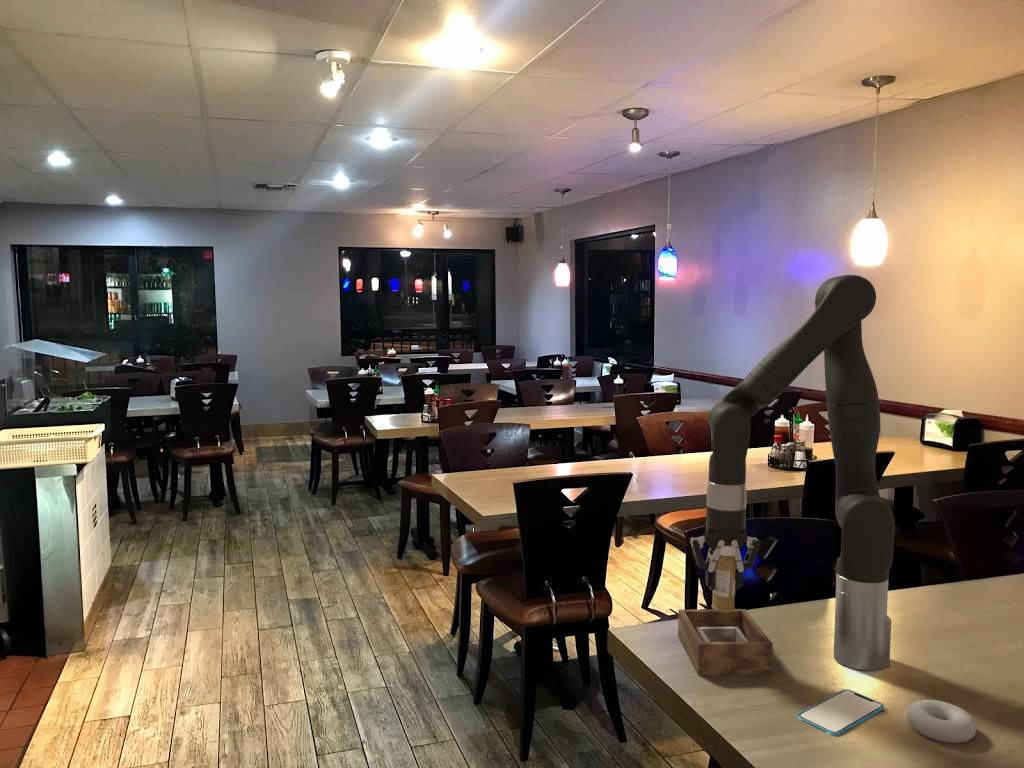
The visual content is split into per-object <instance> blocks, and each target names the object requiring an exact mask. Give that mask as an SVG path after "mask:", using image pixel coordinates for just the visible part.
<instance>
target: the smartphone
mask: <svg viewBox="0 0 1024 768" xmlns="http://www.w3.org/2000/svg"><path fill="white" fill-rule="evenodd" d="M884 710H885V705H884V704H883V703H882V702H880V701H877V700H875V699H872V698H870V697H868V696H865V695H863V694H861V693H858V692H856V691H853V690H851V689H846V688H845V689H842V690H840V691H838V692H836V693H834V694H832V695H831V696H828V697H827V698H825V699H823V700H821V701H819V702H818V703H815V704H814V705H811V706H810V707H808V708H806V709H803V710H802V711H800V712H798V713H797V719H799V720H800V721H801V722H804V723H806V724H808V725H810V726H812V727H815V728H817V729H818V730H820V731H822V732H824V733H827V734H828V735H830V736H835V737H837V736H840V735H842V734H844V733H846V732H848V731H849V730H851V729H853V728H855V727H857V726H859V725H861V724H862V723H864V722H866V721H868V720H869V719H870V720H871V719H872V718H873V717H875V716H877V715H880V714H881V713H883V712H884Z"/></svg>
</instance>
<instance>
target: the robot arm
mask: <svg viewBox="0 0 1024 768" xmlns="http://www.w3.org/2000/svg"><path fill="white" fill-rule="evenodd" d="M876 303H877V292H876V288H875V287H874V284H873V283H872V282H871V281H870V280H868V279H867V278H865V277H864V276H861V275H856V274H844V275H839V276H834V277H831V278H828V279H826V280H825V281H824V282H822V284H821V285H820V286H819V287H818V289H817V291H816V293H815V297H814V305H815V306H814V308H815V310H814V312H813V313H812V314H811V315H810V317H808V319H807V320H806V321H805V322H804V323H803V324H802V325H801V326H800V327H799V328H798V329H797V330H796V331H794V332H793V333H792V334H791V335H790V336H789V337H788V338H786V339H784V341H783V342H781V343H780V344H778V345H777V346H776V347H775V348H773V349H772V350H770V352H769V353H768V354H766V355H765V356H764V358H762V359H761V360H760V361H759V362H758V363H757V365H756V366H754V367H753V369H752V370H751V371H750V372H749V373H748V374H747V375H746V376H745V377H744V378H743V380H742V381H741V382H740V383H739V384H738V385H736V386H735V387H733V388H732V389H730V391H729V392H728V393H726V394H725V395H724V396H723V397H721V398H720V399H719V400H718V401H717V402H716V403H715V404H714V405H713V407H712V408H711V410H710V411H709V414H708V417H707V420H708V421H707V422H708V426H709V428H710V429H711V431H712V432H713V433H712V435H713V437H712V453H711V454H710V456H709V462H708V483H707V484H708V485H707V489H706V512H705V513H706V514H705V530H704V532H703V534H702V536H701V535H700V536H697V537H694V536H691V537H690V538H689V542H690V546H691V548H692V549H691V551H692V554H693V556H694V559H695V564H696V565H697V566H698V568H699V569H701V570H705V582H704V583H705V584H706V586H707V588H709V590H710V591H712V590H715V572H714V569H715V566H716V563H717V562H718V560H719V557H720V549H722V548H723V547H724V545H731V546H732V547H733V548H735V555H734V556H735V562H736V568H735V569H736V570H735V574H736V577H735V580H736V581H735V591H740V588H742V587H743V585H744V582H743V581H744V571H746V570H751V569H753V567H754V565H755V562H756V559H757V557H758V553H759V551H760V548H761V544H762V542H761V540H760V539H758V538H757V537H756V536H753V537H752V536H748V535H747V532H746V526H747V525H746V520H747V504H748V500H747V487H746V481H747V479H746V476H747V461H746V460H747V455H748V449H749V443H750V439H751V420H750V419H751V418H753V416H755V414H756V413H758V412H759V411H760V410H761V409H763V408H766V407H768V406H770V405H771V404H772V403H774V402H775V401H776V400H777V399H778V398H779V397H780V396H781V394H783V393H784V391H785V390H786V389H787V388H788V387H789V386H790V385H791V384H792V383H793V382H794V381H795V380H796V379H797V378H798V377H799V376H800V375H801V373H803V371H805V369H807V368H808V366H810V364H811V363H812V362H813V361H814V360H815V359H817V358H818V357H819V356H820V355H821V354H822V353H823V356H824V357H823V358H824V361H823V362H824V363H823V365H824V379H825V380H824V381H825V382H824V384H825V398H826V411H827V420H828V422H827V423H828V427H829V429H828V430H829V435H830V443H831V449H832V453H833V458H834V459H833V460H834V465H835V466H834V467H835V468H834V469H835V501H834V511H835V512H834V513H835V518H836V521H837V524H838V525H839V527H840V528H841V546H840V556H839V557H837V560H836V579H835V580H836V581H835V582H836V583H835V604H834V605H835V606H834V607H835V609H834V611H835V612H834V629H833V630H834V632H833V633H834V634H833V635H834V636H833V658H834V660H835V661H836V662H837V663H838V664H841V665H843V666H845V667H848V668H851V669H855V670H860V671H877V670H878V671H879V670H881V669H883V668H885V667H886V668H887V667H888V668H889V667H891V666H890V665H891V663H890V662H891V643H892V642H891V639H892V618H891V617H890V616H888V599H889V598H888V597H889V576H890V573H889V572H890V570H891V567H892V564H893V559H894V558H893V557H894V545H895V544H894V543H895V531H896V529H895V527H896V526H895V525H896V524H895V516H894V514H893V511H892V510H891V508H890V506H888V505H887V504H886V503H885V502H884V501H883V500H882V499H881V495H880V490H879V485H878V478H877V474H876V471H877V470H876V457H877V453H878V452H877V451H878V450H877V449H878V445H879V442H880V440H879V439H880V435H881V412H880V411H881V409H880V398H879V393H878V388H877V385H876V384H877V383H876V381H875V378H874V374H873V371H872V369H871V366H870V364H869V362H868V359H867V356H866V353H865V350H864V345H863V329H862V321H863V320H864V319H866V318H867V317H868V316H869V315H871V313H872V312H873V310H874V308H875V306H876ZM704 543H706V544H707V546H708V547H709V549H708V552H707V557H706V560H705V559H704V556H703V553H702V548H703V547H704ZM745 544H746V546H747V549H746V553H745V556H744V558H743V559H742V555H741V551H740V550H741V549H742V548H743V546H744V545H745Z"/></svg>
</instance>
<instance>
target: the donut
mask: <svg viewBox="0 0 1024 768" xmlns="http://www.w3.org/2000/svg"><path fill="white" fill-rule="evenodd" d="M906 717H907V721H908V723H909V725H910V726H911V727H912V728H913V729H914V730H915V731H916V732H918V733H919V734H921V735H922V734H923V735H922V736H924V735H925V736H924V737H926V736H927V737H926V738H929V737H930V738H929V739H931V738H932V739H931V740H934V739H936V740H935V741H937V740H939V741H938V742H941V741H942V743H947V742H948V743H947V744H962V743H966V742H969V741H970V740H971V739H973V738H974V737H975V735H976V731H977V725H976V722H975V720H974V718H973V717H972V716H971V714H969V713H968V712H967V711H965V710H964V709H962V708H961V707H959V706H958V705H957V706H956V705H954V704H951V703H950V702H945V701H942V700H936V699H922V700H917V701H915V702H913V703H911V704H910V705H909V707H908V709H907V711H906Z"/></svg>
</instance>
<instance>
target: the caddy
mask: <svg viewBox="0 0 1024 768" xmlns="http://www.w3.org/2000/svg"><path fill="white" fill-rule="evenodd" d="M677 623H678V625H677V627H678V628H677V629H678V630H677V636H678V637H679V638H678V637H677V638H678V639H680V640H679V642H680V641H681V642H680V643H682V644H681V646H682V647H683V649H684V651H685V653H686V655H687V657H688V659H689V661H690V663H691V665H692V666H693V668H694V670H695V672H696V674H697V676H727V675H728V676H731V675H732V676H745V675H746V676H748V675H753V676H754V675H755V676H756V675H758V676H759V675H766V676H767V675H773V654H774V653H773V650H774V649H773V648H774V644H773V643H772V641H771V639H769V637H768V636H767V635H766V634H765V632H764V631H763V630H762V628H761V627H760V625H758V624H757V622H756V621H755V620H754V619H753V617H752V616H751V615H750V614H749V612H748V611H747V610H746V609H745V608H744V609H743V608H738V609H737V608H735V610H734V611H733V612H729V613H723V612H718V611H715V610H714V609H713V608H712V609H711V608H710V609H678V622H677Z"/></svg>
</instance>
